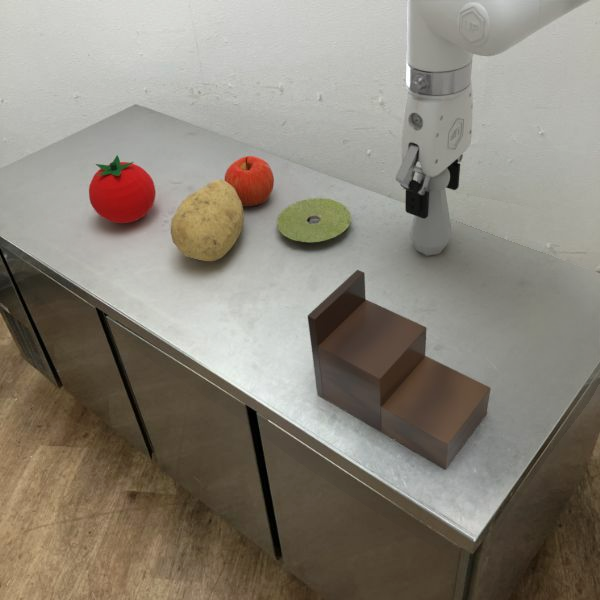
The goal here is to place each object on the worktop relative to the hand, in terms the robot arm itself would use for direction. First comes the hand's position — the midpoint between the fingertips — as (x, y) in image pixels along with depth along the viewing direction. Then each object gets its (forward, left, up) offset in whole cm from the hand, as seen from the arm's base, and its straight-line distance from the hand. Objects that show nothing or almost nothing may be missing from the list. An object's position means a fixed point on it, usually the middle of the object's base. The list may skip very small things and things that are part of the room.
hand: (432, 199), depth 88 cm
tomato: (+41, -27, -8) cm, 50 cm away
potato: (+29, -13, -8) cm, 33 cm away
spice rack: (+15, +25, -8) cm, 30 cm away
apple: (+21, -23, -8) cm, 32 cm away
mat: (+14, -11, -8) cm, 20 cm away
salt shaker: (0, 0, -8) cm, 8 cm away
